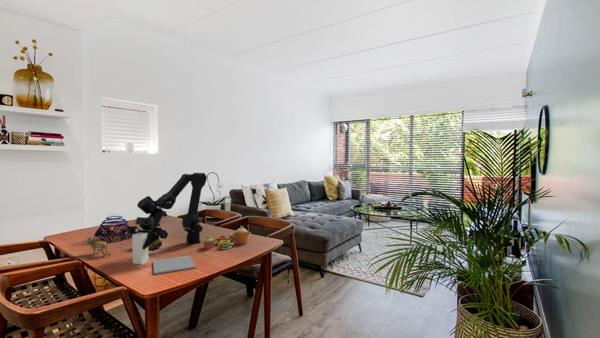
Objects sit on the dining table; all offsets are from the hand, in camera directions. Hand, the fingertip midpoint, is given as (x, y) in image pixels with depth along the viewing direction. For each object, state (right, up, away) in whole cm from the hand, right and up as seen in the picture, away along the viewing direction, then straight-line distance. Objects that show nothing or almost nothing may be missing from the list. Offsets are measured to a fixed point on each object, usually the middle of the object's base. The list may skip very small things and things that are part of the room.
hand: (138, 248), depth 135 cm
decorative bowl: (-36, -5, +41) cm, 55 cm away
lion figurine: (-26, -6, +11) cm, 29 cm away
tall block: (0, -7, +2) cm, 7 cm away
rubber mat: (+17, -7, -2) cm, 18 cm away
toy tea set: (+33, -6, +30) cm, 45 cm away
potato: (-6, -6, +23) cm, 25 cm away
